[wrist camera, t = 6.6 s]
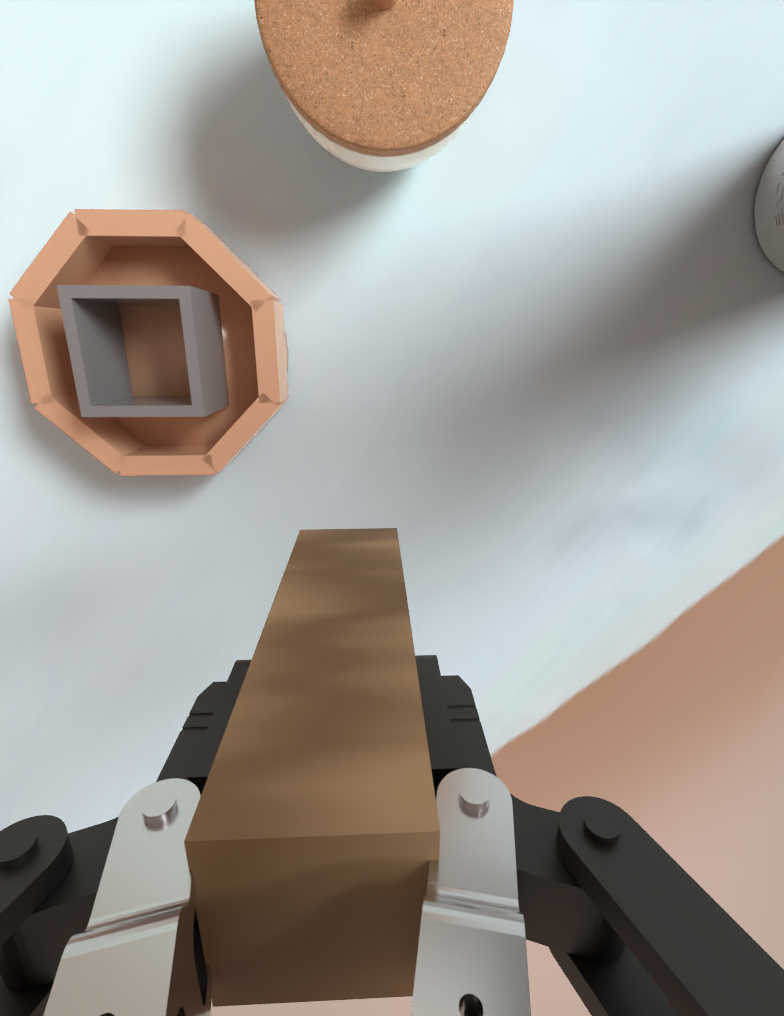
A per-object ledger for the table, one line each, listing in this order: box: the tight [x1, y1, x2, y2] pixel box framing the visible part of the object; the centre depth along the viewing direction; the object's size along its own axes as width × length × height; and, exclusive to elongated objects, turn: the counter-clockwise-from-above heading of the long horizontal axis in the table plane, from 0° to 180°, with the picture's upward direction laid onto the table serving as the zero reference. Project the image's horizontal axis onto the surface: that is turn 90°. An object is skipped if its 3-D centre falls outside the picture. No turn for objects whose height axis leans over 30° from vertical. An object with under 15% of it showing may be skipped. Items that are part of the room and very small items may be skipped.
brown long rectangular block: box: [184, 528, 440, 1006], centre depth 13 cm, size 4×4×12 cm
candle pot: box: [9, 209, 288, 476], centre depth 29 cm, size 14×14×6 cm
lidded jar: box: [254, 0, 513, 172], centre depth 23 cm, size 11×11×9 cm
